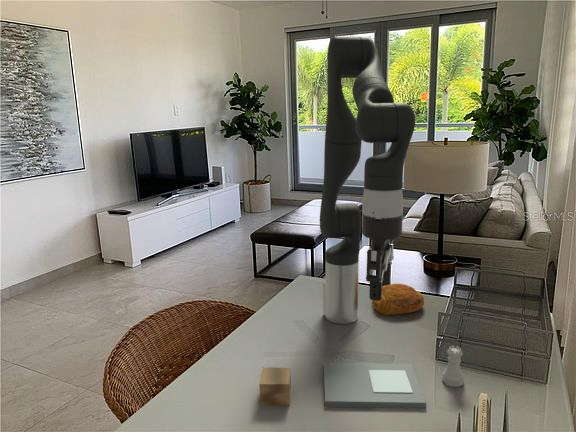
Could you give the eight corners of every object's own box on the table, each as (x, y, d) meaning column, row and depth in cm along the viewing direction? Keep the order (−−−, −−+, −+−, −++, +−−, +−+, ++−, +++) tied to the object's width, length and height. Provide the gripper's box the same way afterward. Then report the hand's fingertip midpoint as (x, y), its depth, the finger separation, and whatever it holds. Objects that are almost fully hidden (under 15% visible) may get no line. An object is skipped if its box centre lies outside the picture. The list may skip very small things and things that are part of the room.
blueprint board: (325, 406, 90) (325, 400, 90) (323, 367, 104) (323, 362, 104) (426, 407, 89) (426, 401, 89) (410, 368, 103) (411, 363, 103)
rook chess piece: (465, 389, 95) (468, 355, 93) (443, 387, 96) (445, 353, 94) (461, 377, 99) (464, 344, 98) (440, 375, 100) (442, 342, 98)
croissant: (429, 321, 131) (435, 295, 129) (380, 319, 127) (385, 293, 125) (407, 299, 144) (411, 276, 143) (361, 298, 141) (366, 274, 139)
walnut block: (260, 405, 91) (259, 384, 90) (263, 388, 97) (262, 367, 96) (289, 406, 91) (289, 384, 90) (290, 388, 97) (290, 367, 96)
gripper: (370, 203, 93) (369, 276, 97) (353, 218, 80) (352, 302, 84) (408, 205, 90) (404, 281, 94) (396, 221, 77) (392, 308, 81)
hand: (379, 291), depth 89 cm, fingers open, 8 cm apart
